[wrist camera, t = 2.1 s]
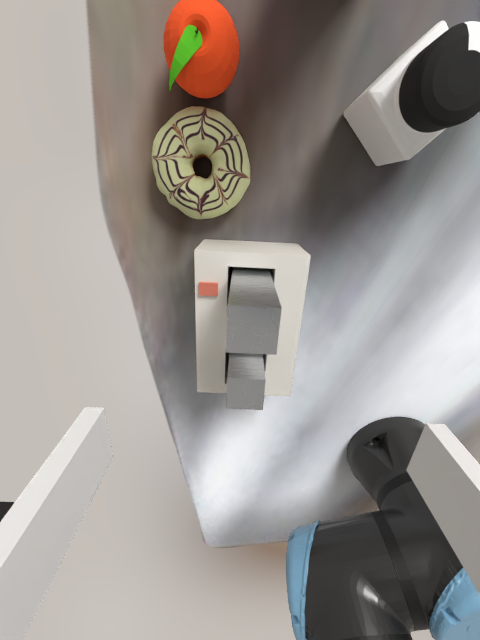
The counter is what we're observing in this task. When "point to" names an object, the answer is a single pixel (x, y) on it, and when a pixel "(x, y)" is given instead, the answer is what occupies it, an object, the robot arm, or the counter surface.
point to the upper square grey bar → (252, 312)
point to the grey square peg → (245, 381)
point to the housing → (212, 300)
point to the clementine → (201, 47)
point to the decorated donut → (191, 143)
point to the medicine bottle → (420, 94)
